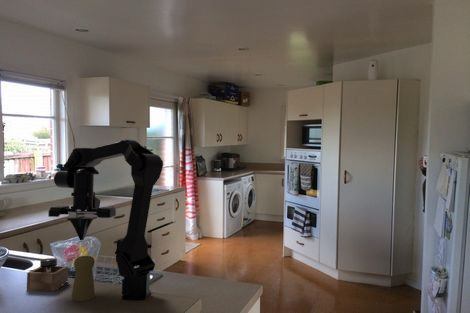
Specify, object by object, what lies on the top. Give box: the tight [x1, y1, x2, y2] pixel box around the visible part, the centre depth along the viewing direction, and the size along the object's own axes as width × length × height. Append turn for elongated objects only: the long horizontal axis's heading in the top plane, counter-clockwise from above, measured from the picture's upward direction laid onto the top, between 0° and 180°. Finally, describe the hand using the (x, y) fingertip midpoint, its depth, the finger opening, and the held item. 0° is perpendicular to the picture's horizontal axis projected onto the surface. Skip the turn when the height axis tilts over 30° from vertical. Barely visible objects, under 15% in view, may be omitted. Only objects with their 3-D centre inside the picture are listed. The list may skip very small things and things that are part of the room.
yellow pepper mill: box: [71, 255, 96, 302], centre depth 101 cm, size 6×6×11 cm
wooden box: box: [26, 265, 69, 292], centre depth 109 cm, size 8×8×5 cm
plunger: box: [39, 257, 58, 273], centre depth 109 cm, size 6×6×7 cm
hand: (81, 240), depth 113 cm, fingers closed
